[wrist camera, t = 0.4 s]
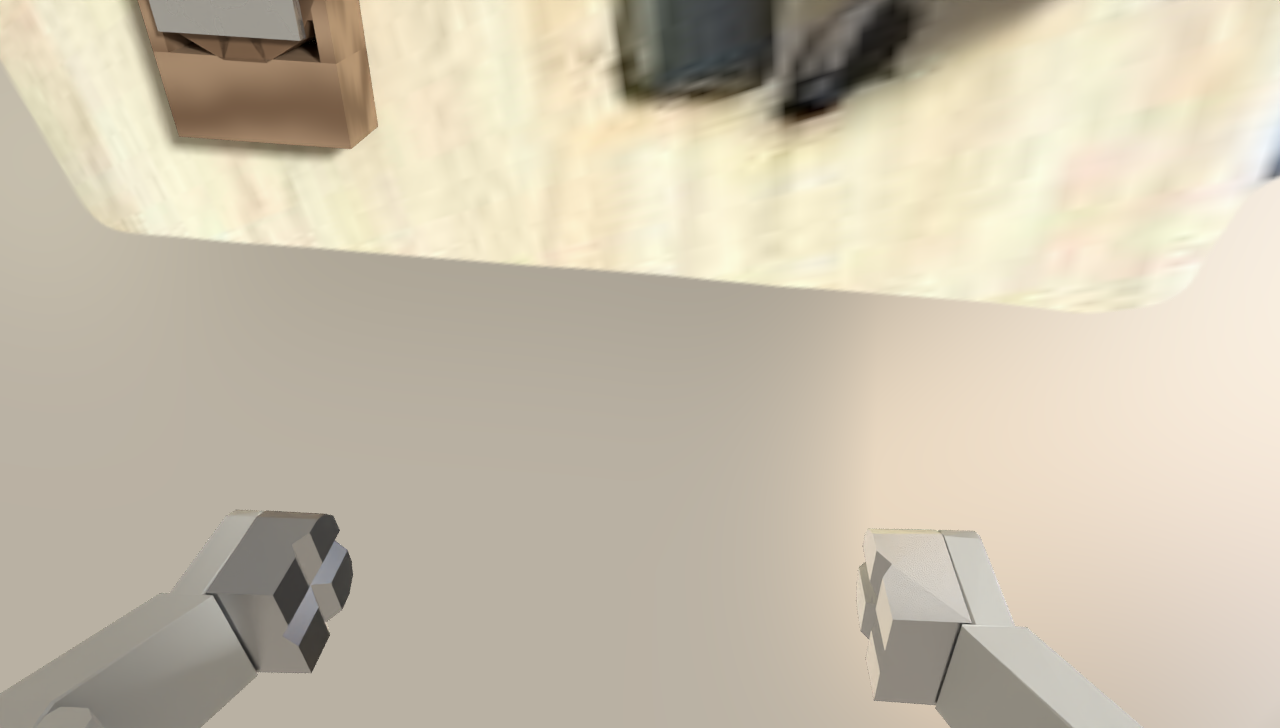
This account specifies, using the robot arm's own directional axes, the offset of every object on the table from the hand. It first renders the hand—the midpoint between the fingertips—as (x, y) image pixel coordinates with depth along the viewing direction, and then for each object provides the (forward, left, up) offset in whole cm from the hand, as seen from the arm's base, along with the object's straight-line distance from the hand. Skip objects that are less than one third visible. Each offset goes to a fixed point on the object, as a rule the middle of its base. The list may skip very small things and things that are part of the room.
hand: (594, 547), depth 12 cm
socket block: (+1, -28, -46) cm, 54 cm away
